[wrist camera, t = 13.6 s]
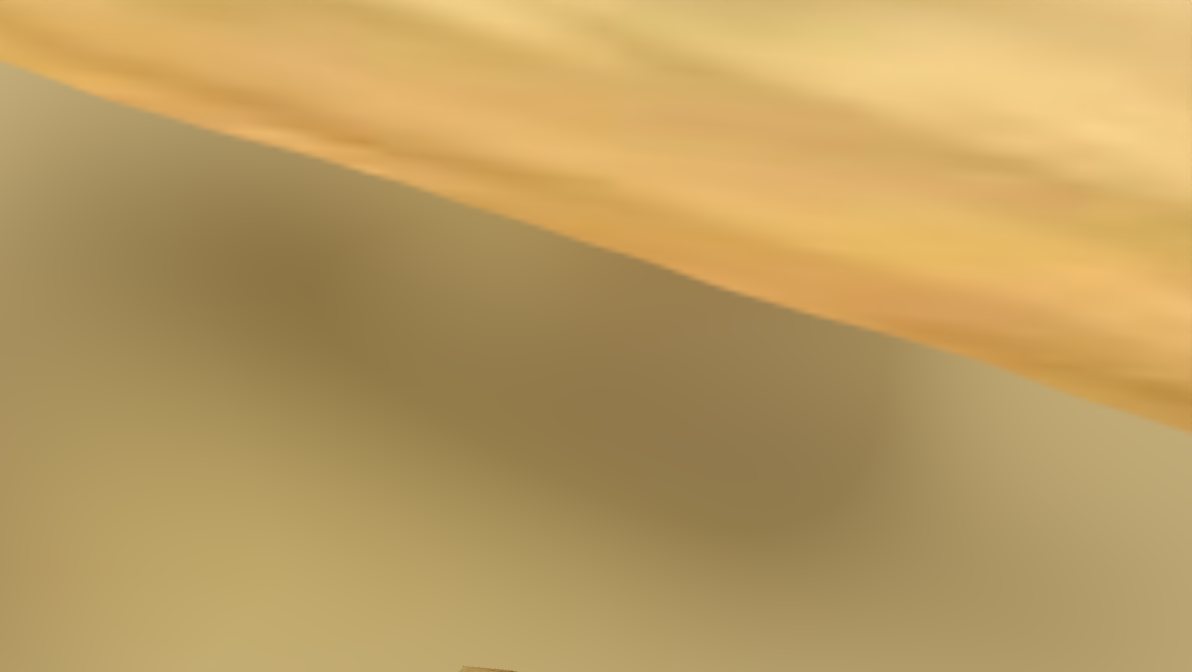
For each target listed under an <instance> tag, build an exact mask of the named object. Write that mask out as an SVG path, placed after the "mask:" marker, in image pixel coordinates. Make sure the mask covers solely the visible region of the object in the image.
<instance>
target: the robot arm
mask: <svg viewBox="0 0 1192 672" xmlns="http://www.w3.org/2000/svg"><path fill="white" fill-rule="evenodd" d="M460 672H516V671H510V670H500V669H490V668H480V667H470V666H463V667H462V669H461V670H460Z"/></svg>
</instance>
